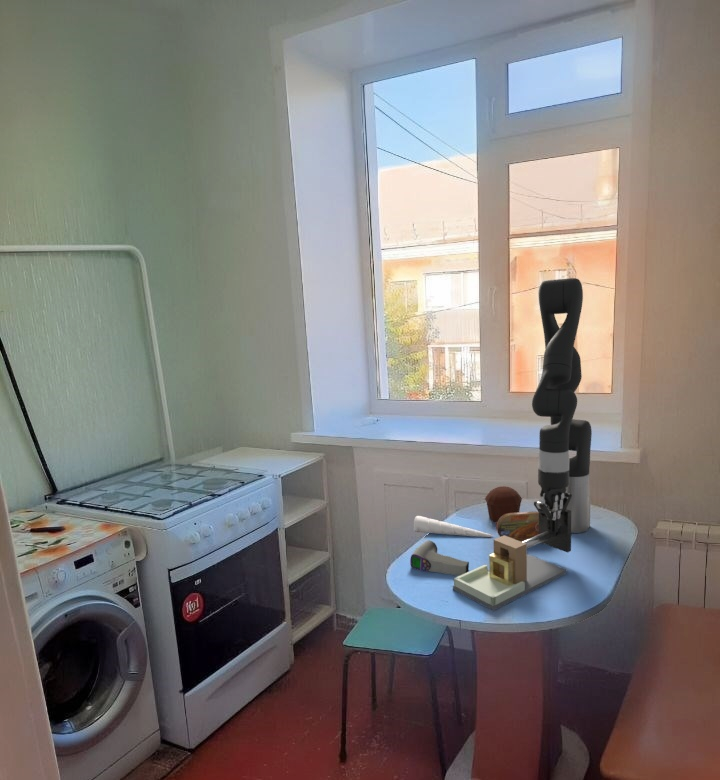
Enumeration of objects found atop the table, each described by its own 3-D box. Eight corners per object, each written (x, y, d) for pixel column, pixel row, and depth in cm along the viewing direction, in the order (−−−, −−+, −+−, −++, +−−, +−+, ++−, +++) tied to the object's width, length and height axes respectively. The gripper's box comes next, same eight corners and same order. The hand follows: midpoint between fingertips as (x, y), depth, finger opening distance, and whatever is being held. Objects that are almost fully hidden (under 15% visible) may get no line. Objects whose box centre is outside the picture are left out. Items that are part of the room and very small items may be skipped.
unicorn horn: (491, 543, 174) (490, 527, 173) (412, 533, 183) (411, 518, 182) (494, 536, 178) (493, 521, 177) (417, 528, 187) (416, 513, 187)
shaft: (542, 540, 164) (542, 501, 162) (571, 550, 157) (571, 510, 155) (495, 561, 153) (494, 520, 151) (523, 573, 146) (523, 530, 144)
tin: (498, 544, 172) (498, 516, 171) (495, 539, 176) (495, 512, 174) (550, 541, 173) (550, 513, 172) (546, 536, 176) (546, 509, 175)
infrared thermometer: (464, 581, 154) (408, 570, 160) (474, 561, 165) (421, 551, 171) (465, 565, 153) (409, 554, 159) (475, 545, 164) (422, 536, 170)
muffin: (498, 509, 199) (497, 480, 197) (528, 516, 191) (528, 486, 190) (478, 520, 191) (477, 490, 189) (509, 528, 183) (509, 497, 181)
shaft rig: (525, 556, 164) (525, 519, 162) (566, 573, 153) (567, 534, 151) (452, 589, 148) (451, 549, 146) (493, 610, 137) (492, 567, 136)
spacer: (494, 574, 151) (494, 552, 150) (513, 583, 146) (513, 560, 146) (489, 577, 150) (489, 554, 149) (508, 586, 145) (508, 563, 144)
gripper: (557, 459, 159) (556, 522, 161) (524, 468, 151) (524, 534, 154) (582, 465, 153) (580, 530, 155) (549, 475, 145) (548, 543, 148)
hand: (552, 532), depth 154 cm, fingers closed
